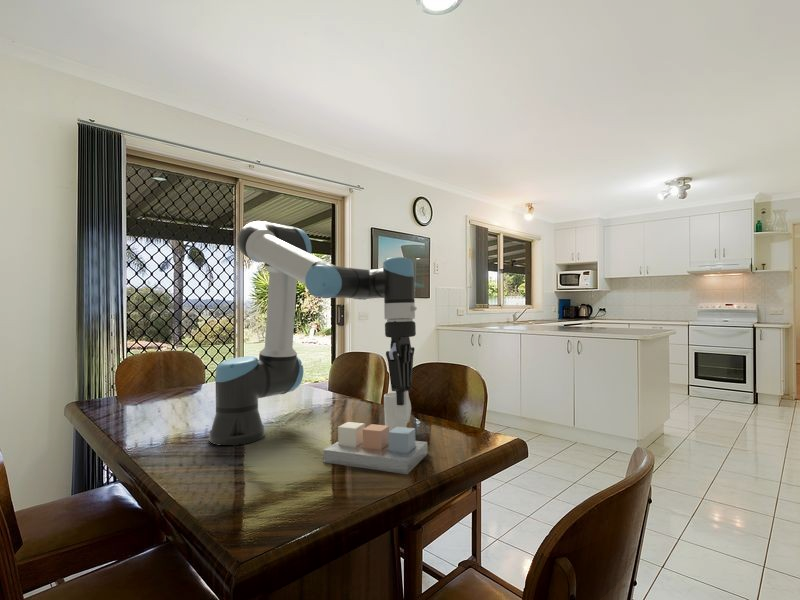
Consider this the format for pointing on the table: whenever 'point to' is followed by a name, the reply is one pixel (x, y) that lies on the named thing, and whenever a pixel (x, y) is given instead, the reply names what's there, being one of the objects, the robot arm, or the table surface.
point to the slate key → (402, 440)
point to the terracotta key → (376, 437)
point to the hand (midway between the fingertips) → (402, 417)
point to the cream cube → (350, 434)
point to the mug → (393, 412)
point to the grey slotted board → (375, 457)
